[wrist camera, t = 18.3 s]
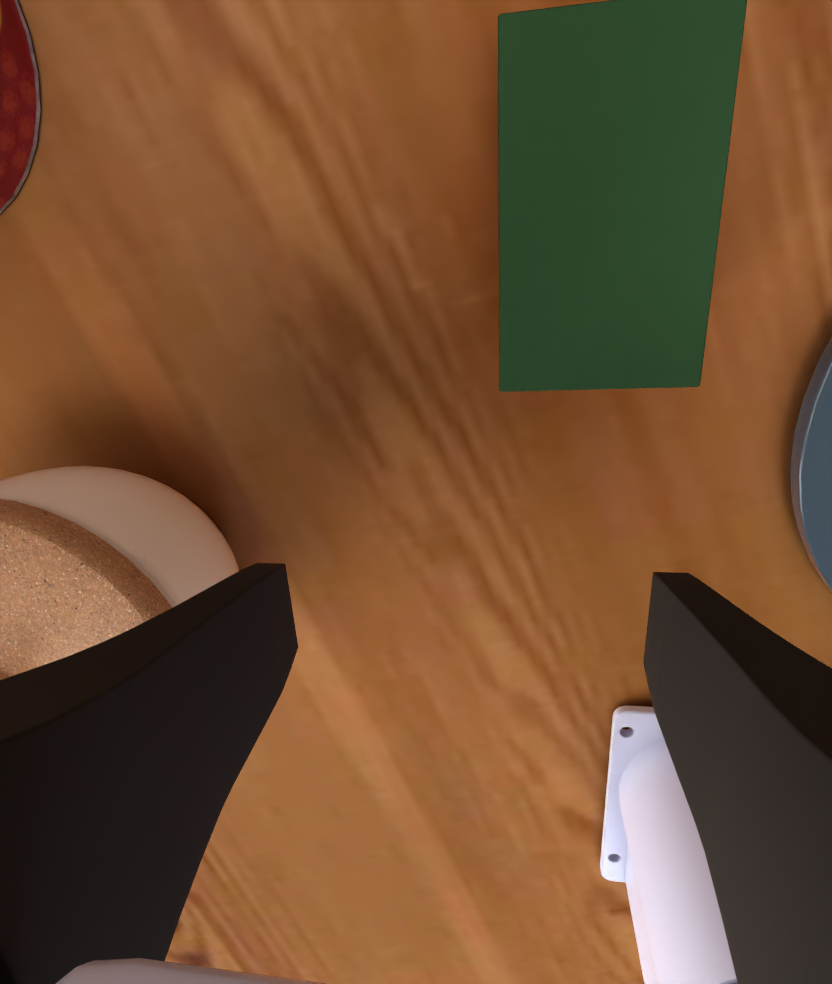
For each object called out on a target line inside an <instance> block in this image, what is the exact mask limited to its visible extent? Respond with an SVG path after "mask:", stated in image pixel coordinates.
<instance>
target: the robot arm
mask: <svg viewBox="0 0 832 984" xmlns="http://www.w3.org/2000/svg"><path fill="white" fill-rule="evenodd" d="M297 649H298V643H297V637H296V631H295V624H294V618H293V611H292V605H291V598H290V592H289V585H288V579H287V572H286V566H285V564H274V563H256V564H254V565H251V566H249V567H247V568H245V569H243V570H241V571H239V572H237V573H235V574H233V575H231V576H229V577H227V578H225V579H224V580H222V581H220V582H218V583H216V584H215V585H213V586H211V587H209V588H207V589H206V590H204V591H202V592H200V593H198V594H197V595H195V596H193V597H191V598H189V599H188V600H186V601H184V602H182V603H180V604H178V605H177V606H175V607H173V608H171V609H169V610H167V611H165V612H163V613H161V614H159V615H157V616H155V617H153V618H151V619H149V620H147V621H145V622H143V623H142V624H140V625H138V626H136V627H134V628H132V629H130V630H128V631H126V632H123V633H121V634H119V635H117V636H115V637H113V638H110V639H108V640H106V641H104V642H101V643H99V644H97V645H94V646H92V647H89V648H87V649H85V650H82V651H80V652H77V653H75V654H72V655H70V656H67V657H65V658H62V659H59V660H57V661H54V662H51V663H48V664H45V665H42V666H39V667H36V668H34V669H31V670H28V671H25V672H22V673H19V674H16V675H14V676H11V677H8V678H5V679H2V680H0V984H325V983H317V982H310V981H303V980H296V979H288V978H281V977H274V976H267V975H259V974H252V973H245V972H238V971H230V970H223V969H216V968H209V967H201V966H194V965H187V964H180V963H172V962H165V958H166V956H167V953H168V950H169V947H170V944H171V941H172V938H173V935H174V932H175V929H176V926H177V924H178V921H179V918H180V915H181V912H182V910H183V907H184V904H185V902H186V899H187V896H188V894H189V891H190V888H191V886H192V883H193V880H194V878H195V875H196V872H197V870H198V867H199V864H200V862H201V859H202V857H203V854H204V852H205V849H206V847H207V844H208V842H209V839H210V837H211V834H212V832H213V829H214V827H215V824H216V822H217V819H218V817H219V815H220V812H221V810H222V807H223V805H224V803H225V801H226V799H227V797H228V795H229V793H230V791H231V788H232V786H233V784H234V782H235V781H236V779H237V777H238V775H239V773H240V771H241V769H242V767H243V765H244V764H245V762H246V760H247V758H248V756H249V754H250V752H251V750H252V748H253V747H254V745H255V743H256V741H257V739H258V737H259V735H260V733H261V731H262V730H263V728H264V726H265V724H266V722H267V720H268V718H269V716H270V714H271V712H272V710H273V708H274V706H275V705H276V703H277V701H278V699H279V697H280V695H281V693H282V691H283V688H284V686H285V683H286V680H287V678H288V675H289V672H290V670H291V667H292V664H293V661H294V658H295V655H296V652H297ZM644 667H645V672H646V677H647V682H648V687H649V691H650V695H651V700H652V704H653V707H646V706H629V705H626V706H621V707H618V708H617V709H616V710H615V711H614V713H613V720H612V731H611V743H610V754H609V766H608V777H607V789H606V801H605V812H604V824H603V835H602V847H601V858H600V869H601V875H602V876H603V877H604V878H605V879H607V880H610V881H616V882H626V887H627V893H628V898H629V903H630V909H631V914H632V919H633V925H634V930H635V935H636V941H637V946H638V951H639V957H640V962H641V967H642V973H643V978H644V983H645V984H832V668H830V667H828V666H826V665H825V664H823V663H821V662H820V661H818V660H817V659H815V658H813V657H812V656H810V655H808V654H807V653H805V652H804V651H802V650H800V649H799V648H797V647H796V646H794V645H792V644H791V643H789V642H788V641H786V640H785V639H783V638H782V637H780V636H778V635H777V634H775V633H774V632H772V631H771V630H769V629H768V628H767V627H765V626H764V625H762V624H761V623H759V622H758V621H756V620H755V619H753V618H752V617H751V616H749V615H748V614H746V613H745V612H744V611H742V610H741V609H739V608H738V607H736V606H735V605H734V604H732V603H731V602H730V601H728V600H727V599H725V598H724V597H723V596H721V595H720V594H718V593H717V592H716V591H714V590H713V589H711V588H710V587H709V586H707V585H706V584H704V583H703V582H702V581H700V580H699V579H697V578H696V577H694V576H692V575H691V574H689V573H668V572H653V579H652V588H651V598H650V607H649V617H648V626H647V635H646V645H645V654H644ZM623 727H630V729H628V730H623V729H622V728H623Z"/></svg>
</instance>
